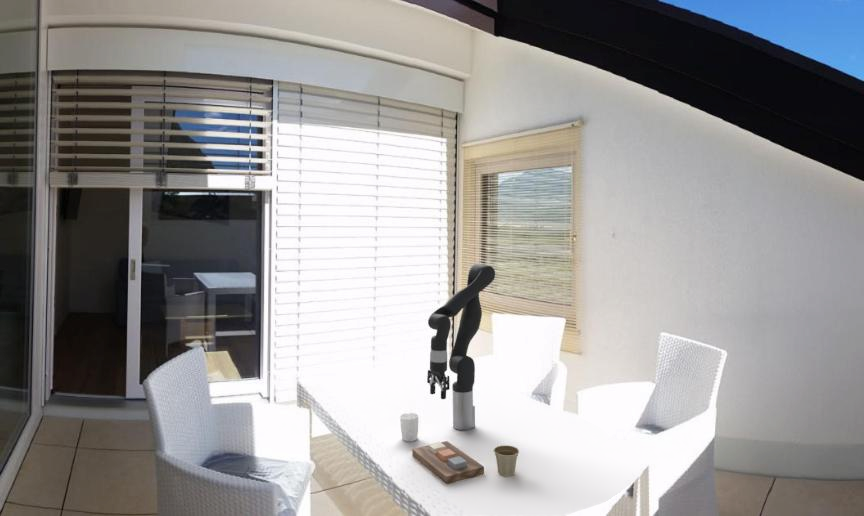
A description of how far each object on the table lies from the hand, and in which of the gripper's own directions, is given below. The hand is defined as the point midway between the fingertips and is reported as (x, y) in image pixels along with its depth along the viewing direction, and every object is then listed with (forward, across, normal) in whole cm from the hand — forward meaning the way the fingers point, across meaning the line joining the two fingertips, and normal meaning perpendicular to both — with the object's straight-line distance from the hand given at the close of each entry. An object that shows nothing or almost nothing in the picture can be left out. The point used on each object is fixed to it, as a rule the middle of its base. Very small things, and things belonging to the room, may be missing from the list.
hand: (437, 396), depth 246 cm
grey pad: (+16, -35, +14) cm, 41 cm away
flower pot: (+18, -45, -2) cm, 48 cm away
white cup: (+18, +4, +12) cm, 22 cm away
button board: (+18, -27, +13) cm, 35 cm away
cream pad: (+16, -19, +12) cm, 28 cm away
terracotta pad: (+16, -27, +13) cm, 34 cm away
